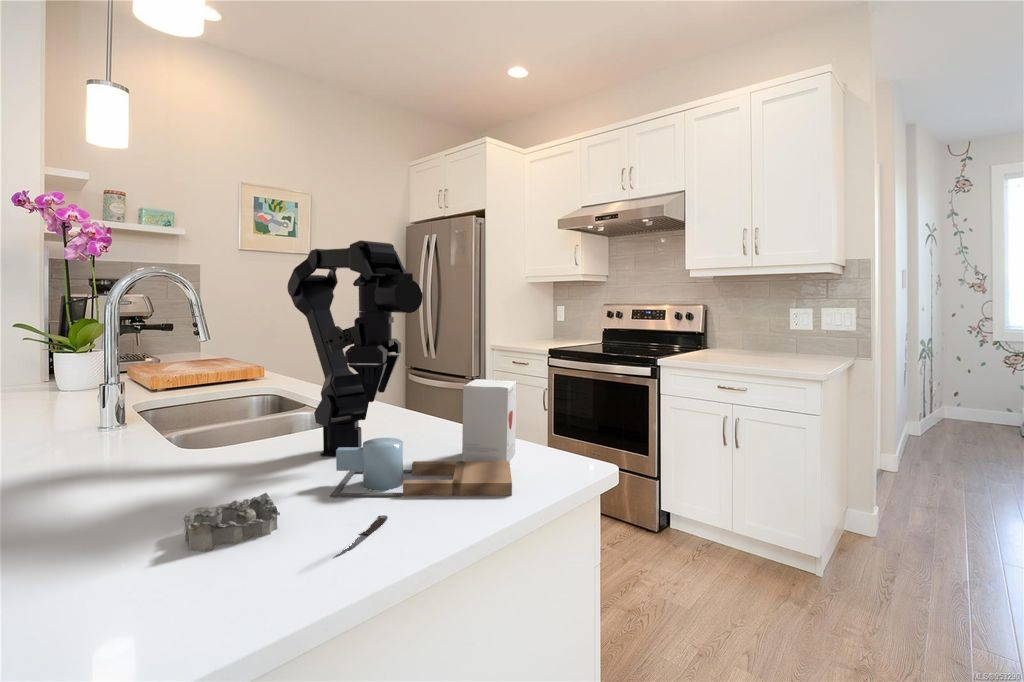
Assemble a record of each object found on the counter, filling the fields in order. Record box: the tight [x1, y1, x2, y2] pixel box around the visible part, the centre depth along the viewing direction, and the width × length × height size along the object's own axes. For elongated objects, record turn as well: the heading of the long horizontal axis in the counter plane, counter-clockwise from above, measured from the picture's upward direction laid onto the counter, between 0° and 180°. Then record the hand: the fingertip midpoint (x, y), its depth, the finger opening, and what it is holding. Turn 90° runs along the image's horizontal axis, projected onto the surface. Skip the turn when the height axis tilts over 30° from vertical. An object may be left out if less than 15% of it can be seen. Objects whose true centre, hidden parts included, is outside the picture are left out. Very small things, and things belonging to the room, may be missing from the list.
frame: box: [329, 469, 412, 498], centre depth 87 cm, size 11×12×1 cm
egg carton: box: [182, 492, 281, 553], centre depth 68 cm, size 11×8×4 cm
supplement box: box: [461, 378, 517, 462], centre depth 101 cm, size 9×9×15 cm
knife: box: [332, 514, 388, 559], centre depth 66 cm, size 17×1×3 cm
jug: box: [335, 437, 404, 491], centre depth 86 cm, size 11×6×7 cm, turn 93°
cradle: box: [402, 460, 513, 497], centre depth 87 cm, size 17×11×2 cm, turn 93°
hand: (376, 396), depth 95 cm, fingers open, 9 cm apart
